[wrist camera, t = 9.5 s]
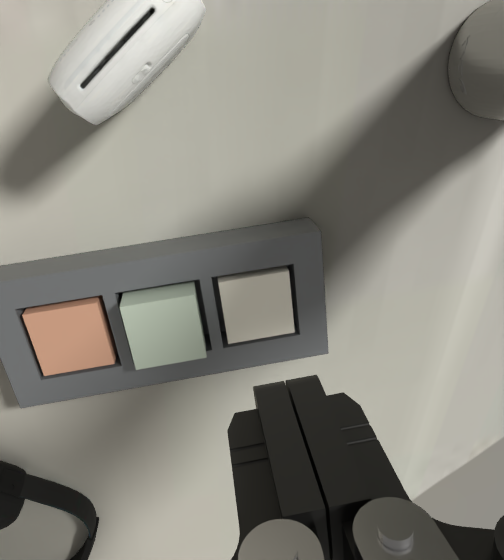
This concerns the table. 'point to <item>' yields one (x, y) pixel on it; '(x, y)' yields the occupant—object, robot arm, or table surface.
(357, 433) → the robot arm
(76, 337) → the terracotta key
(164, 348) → the sage key
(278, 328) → the cream key
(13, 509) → the virtual reality headset
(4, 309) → the panel
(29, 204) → the table surface
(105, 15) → the photo printer
